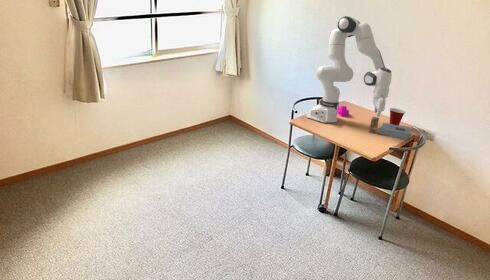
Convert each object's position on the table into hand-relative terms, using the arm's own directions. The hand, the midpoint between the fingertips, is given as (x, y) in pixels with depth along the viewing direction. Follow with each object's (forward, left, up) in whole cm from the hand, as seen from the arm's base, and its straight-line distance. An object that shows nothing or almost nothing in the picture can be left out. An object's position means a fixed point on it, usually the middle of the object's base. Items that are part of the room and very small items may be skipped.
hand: (377, 114), depth 255 cm
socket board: (+13, +7, -13) cm, 19 cm away
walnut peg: (0, 0, -13) cm, 13 cm away
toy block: (-31, +29, -13) cm, 44 cm away
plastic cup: (+10, +25, -13) cm, 30 cm away
